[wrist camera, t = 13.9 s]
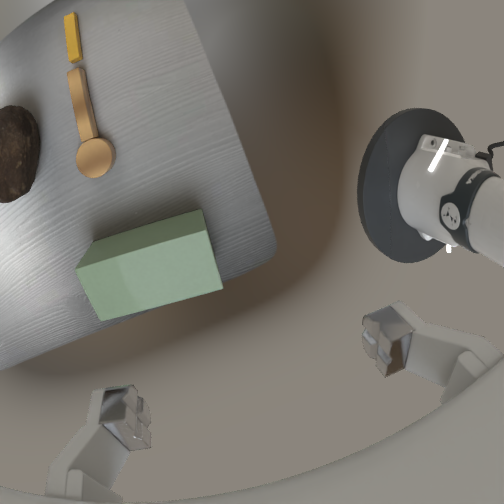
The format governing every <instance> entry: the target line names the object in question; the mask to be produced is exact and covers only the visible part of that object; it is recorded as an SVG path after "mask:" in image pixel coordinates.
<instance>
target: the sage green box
mask: <svg viewBox="0 0 504 504" xmlns="http://www.w3.org/2000/svg"><path fill="white" fill-rule="evenodd" d="M75 272H76V274H77V276H78V278H79V280H80V282H81V284H82V286H83V288H84V290H85V292H86V294H87V296H88V298H89V300H90V302H91V304H92V306H93V308H94V310H95V312H96V314H97V315H98V317H99V319H100V321H104V320H108V319H112V318H116V317H120V316H124V315H128V314H132V313H135V312H139V311H143V310H147V309H151V308H154V307H158V306H162V305H166V304H169V303H173V302H177V301H180V300H184V299H188V298H191V297H195V296H199V295H202V294H206V293H209V292H213V291H216V290H220V289H223V285H222V281H221V277H220V273H219V269H218V266H217V262H216V258H215V254H214V251H213V247H212V244H211V240H210V237H209V233H208V229H207V226H206V222H205V218H204V215H203V211H202V209H199V210H195V211H192V212H188V213H185V214H181V215H178V216H174V217H171V218H168V219H164V220H161V221H157V222H154V223H151V224H148V225H144V226H141V227H138V228H135V229H132V230H128V231H125V232H122V233H119V234H116V235H113V236H110V237H107V238H104V239H101V240H98V241H95V242H93V243H92V244H91V246H90V247H89V249H88V250H87V252H86V253H85V255H84V256H83V258H82V259H81V261H80V262H79V264H78V265H77V267H76V268H75Z"/></svg>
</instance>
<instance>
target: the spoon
mask: <svg viewBox="0 0 504 504" xmlns="http://www.w3.org/2000/svg"><path fill="white" fill-rule="evenodd" d="M67 77H68V83H69V88H70V94H71V99H72V104H73V108H74V113H75V117H76V122H77V126H78V130H79V134H80V138H81V142H84V143H83V144H82V145H81V146H80V148H79V149H78V152H77V155H76V163H77V167H78V169H79V171H80V172H81V173H82V174H83V175H85V176H87V177H90V178H97V177H100V176H102V175H104V174H105V173H107V172H108V171H109V170H110V169H111V168H112V167H113V165H114V163H115V159H116V152H115V148H114V146H113V145H112V143H111V142H110V141H108V140H107V139H104V138H97V137H99V134H98V130H97V126H96V122H95V118H94V113H93V109H92V105H91V100H90V95H89V90H88V85H87V80H86V75H85V70H83V69H81V68H79V67H78V68H76V69H73V70H71V71H69V72H67Z"/></svg>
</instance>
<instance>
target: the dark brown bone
mask: <svg viewBox="0 0 504 504" xmlns="http://www.w3.org/2000/svg"><path fill="white" fill-rule="evenodd" d="M39 146H40V142H39V135H38V130H37V123H36V120H35V118H34V117H33V116H32V114H31V113H30V112H29V111H28V110H26V109H25V108H23V107H20V106H6V107H4V108H2V109H0V203H9V202H12V201H14V200H16V199H18V198H19V197H21V196H23V195H25V194H26V193H28V192H29V191H30V189H31V186H32V184H33V182H34V180H35V176H36V169H37V164H38V158H39Z"/></svg>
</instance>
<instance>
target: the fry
mask: <svg viewBox="0 0 504 504" xmlns="http://www.w3.org/2000/svg"><path fill="white" fill-rule="evenodd" d="M64 25H65V34H66V43H67V50H68V58H69V62H71V63H75V62H77V61H80V60H82V59H83V57H82V51H81V44H80V37H79V29H78V20H77V15H76V14H75V13H74V12H73V13H71V14H69V15H67V16H64Z"/></svg>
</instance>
